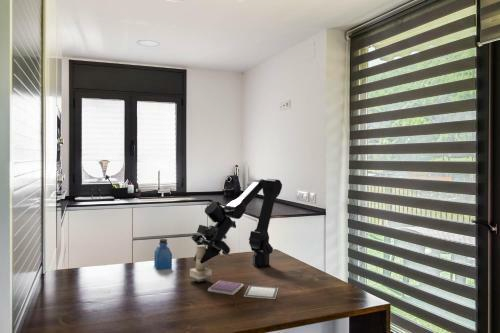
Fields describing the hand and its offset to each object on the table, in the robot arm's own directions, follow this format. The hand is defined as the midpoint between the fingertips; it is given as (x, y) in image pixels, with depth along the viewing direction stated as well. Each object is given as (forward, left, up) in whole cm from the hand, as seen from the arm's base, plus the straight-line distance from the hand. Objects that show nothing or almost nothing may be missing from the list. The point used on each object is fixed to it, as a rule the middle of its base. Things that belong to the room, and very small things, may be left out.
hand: (197, 261), depth 148 cm
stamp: (-1, -1, -7) cm, 7 cm away
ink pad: (-8, +10, -8) cm, 15 cm away
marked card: (-20, +17, -8) cm, 27 cm away
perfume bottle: (+10, -24, -8) cm, 27 cm away
